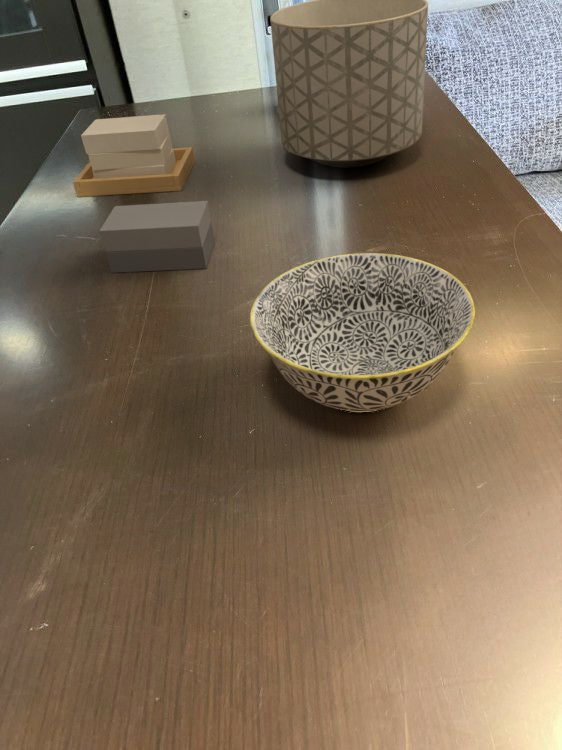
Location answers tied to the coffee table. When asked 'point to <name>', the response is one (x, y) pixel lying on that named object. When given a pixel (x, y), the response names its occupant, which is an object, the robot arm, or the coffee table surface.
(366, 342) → the bowl
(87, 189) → the shallow wooden box
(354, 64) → the planter
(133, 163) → the taupe rectangular block
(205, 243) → the grey rectangular block
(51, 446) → the coffee table surface
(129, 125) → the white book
